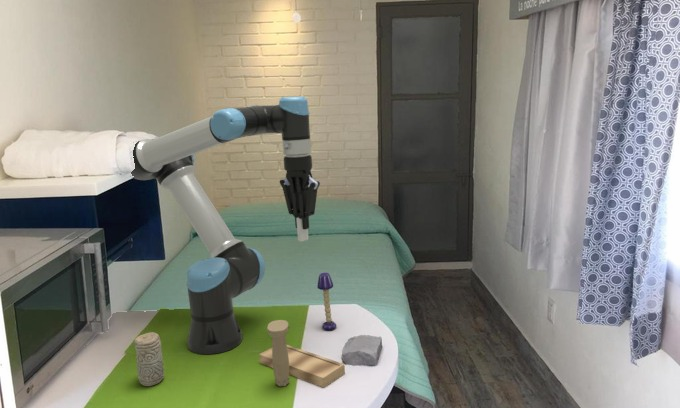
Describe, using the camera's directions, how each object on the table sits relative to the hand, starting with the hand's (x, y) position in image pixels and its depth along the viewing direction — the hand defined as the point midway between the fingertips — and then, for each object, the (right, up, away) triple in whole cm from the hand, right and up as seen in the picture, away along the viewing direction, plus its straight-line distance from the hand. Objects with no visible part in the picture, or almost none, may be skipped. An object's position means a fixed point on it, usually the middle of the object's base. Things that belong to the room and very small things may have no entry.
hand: (303, 240), depth 155 cm
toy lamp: (+7, -27, +10) cm, 29 cm away
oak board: (0, -32, -13) cm, 34 cm away
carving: (-37, -34, -15) cm, 52 cm away
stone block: (+16, -30, -7) cm, 35 cm away
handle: (-4, -34, -20) cm, 39 cm away
